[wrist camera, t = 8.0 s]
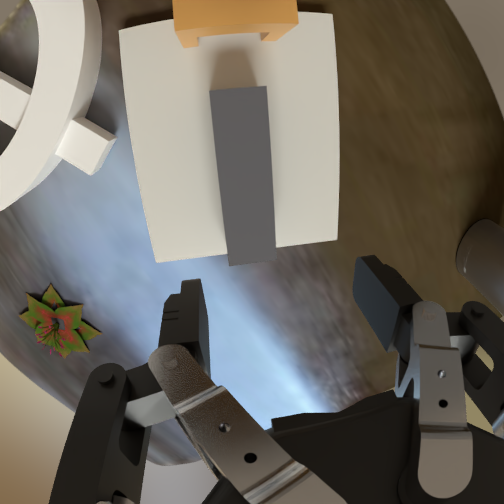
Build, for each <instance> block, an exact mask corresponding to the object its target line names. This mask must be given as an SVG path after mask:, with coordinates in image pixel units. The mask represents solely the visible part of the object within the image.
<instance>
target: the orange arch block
mask: <svg viewBox="0 0 504 504" xmlns="http://www.w3.org/2000/svg"><path fill="white" fill-rule="evenodd" d="M172 1H173V16H174V30H175V33H176V35H177V37H178V39H179V40H180V42H181V44H182V46H183V48H190V47H197V46H199V44H198V37H204V36H214V35H225V34H239V33H260V34H261V41H277V40H278V39H279V38H280V37H282V36H283V35H284V34H286V33H287V32H288V31H290V30H291V29H292V28H294V27H295V26H296V25H298V24H299V21H298V11H297V1H296V0H172Z"/></svg>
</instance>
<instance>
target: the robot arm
mask: <svg viewBox="0 0 504 504" xmlns="http://www.w3.org/2000/svg"><path fill="white" fill-rule="evenodd" d="M456 265H457V269H458V271H459V272H460V273H461V274H462V275H463V276H464V277H465V278H466V279H467V280H468V281H469V282H470V283H471V284H472V285H473V286H474V287H475V288H476V289H477V290H478V291H479V292H480V293H481V294H482V295H483V296H484V297H485V298H486V299H487V300H488V301H489V302H490V303H491V304H492V305H493V306H494V307H495V308H496V309H497V310H498V311H499V312H500V313H501V314H502V315H503V316H504V229H503V228H502V227H500V226H499V225H497V224H496V223H494V222H493V221H491V220H489V219H482V220H480V221H478V222H477V223H475V224H474V225H473V226H472V227H471V228H470V229H469V230H468V231H467V233H466V234H465V236H464V237H463V239H462V241H461V243H460V245H459V248H458V252H457V257H456ZM353 296H354V299H355V301H356V303H357V305H358V306H359V308H360V309H361V311H362V313H363V314H364V316H365V317H366V319H367V321H368V322H369V324H370V325H371V327H372V329H373V330H374V332H375V334H376V335H377V337H378V339H379V340H380V342H381V344H382V345H383V347H384V349H385V350H386V352H387V353H388V352H392V351H395V350H397V351H398V352H399V355H398V358H397V367H396V382H395V392H394V390H389V391H386V392H383V393H380V394H377V395H373V396H370V397H366V398H364V399H363V400H361V401H359V402H357V403H355V404H354V405H352V406H350V407H348V408H346V409H344V410H342V411H340V412H336V413H301V414H296V415H290V416H285V417H279V418H273V419H271V422H272V428H270V429H267V430H264V429H263V428H262V427H261V426H260V425H259V424H258V423H257V422H256V421H255V420H254V419H253V418H252V417H251V416H250V415H249V413H248V412H247V411H246V410H245V409H244V408H243V407H242V406H241V405H240V404H239V403H238V401H237V400H236V399H235V398H234V397H233V396H232V395H231V394H230V392H229V391H228V390H227V389H226V388H225V387H223V386H219V387H217V386H216V385H215V384H214V382H213V381H212V380H211V373H210V352H209V325H208V315H207V309H206V304H205V299H204V294H203V289H202V284H201V280H200V279H192V280H184V281H182V284H181V293H180V294H171V295H170V296H169V298H168V299H167V300H166V302H165V303H164V309H163V316H162V322H161V329H160V337H159V344H158V348H157V349H156V350H155V351H154V352H152V354H151V355H150V357H149V360H148V362H147V363H146V364H144V365H142V366H139V367H136V368H133V369H130V370H127V371H125V370H124V368H123V367H122V366H120V365H118V364H115V363H107V364H103V365H101V366H99V367H97V368H96V369H94V370H93V371H92V373H91V374H90V376H89V378H88V380H87V383H86V386H85V388H84V391H83V394H82V396H81V399H80V402H79V405H78V407H77V410H76V413H75V416H74V419H73V422H72V425H71V428H70V431H69V434H68V437H67V440H66V443H65V446H64V450H63V453H62V456H61V459H60V463H59V466H58V470H57V474H56V477H55V481H54V484H53V489H52V492H51V496H50V500H49V504H140V498H141V490H142V483H143V476H144V470H145V463H146V457H147V451H148V445H149V439H150V433H151V427H152V425H153V424H156V423H159V422H162V421H165V420H168V419H171V418H175V420H176V421H177V423H178V424H179V426H180V427H181V429H182V430H183V432H184V433H185V435H186V436H187V438H188V439H189V441H190V442H191V443H192V445H193V446H194V448H195V449H196V451H197V452H198V454H199V455H200V457H201V458H202V460H203V461H204V463H205V464H206V465H207V467H208V468H209V469H210V471H211V472H212V473H213V475H214V476H215V477H216V479H217V480H218V482H217V484H216V485H215V486H214V488H213V489H212V490H211V492H210V493H209V494H208V496H207V497H206V499H205V500H204V501H203V502H202V504H504V322H503V321H502V320H501V319H500V318H499V317H498V316H496V315H495V314H494V313H493V312H492V311H491V310H490V309H489V308H488V307H487V306H485V305H484V304H482V303H479V302H476V301H469V302H466V303H465V304H464V305H463V307H462V310H461V312H445V310H444V309H443V308H442V307H441V306H440V305H438V304H437V303H434V302H431V301H423V300H422V299H421V298H420V297H419V295H418V294H417V293H416V292H415V291H414V290H413V288H412V287H411V286H410V285H409V284H407V282H406V281H405V279H404V278H402V276H401V275H400V274H399V273H398V272H397V271H396V270H395V269H394V268H392V267H390V266H388V265H387V264H385V265H383V264H382V262H381V261H380V260H379V259H378V258H377V257H376V256H375V255H369V256H362V257H358V258H357V259H356V263H355V272H354V281H353ZM479 345H480V346H481V347H482V348H483V349H484V350H485V351H486V352H487V354H488V355H489V356H490V357H491V358H492V360H493V362H494V368H493V371H492V372H491V370H490V369H489V368H488V367H487V366H486V365H485V364H484V362H483V361H482V360H481V359H480V358H479V357H478V356H477V355H476V354H475V353H476V351H477V349H478V347H479ZM464 390H465V391H464ZM465 392H466V393H467V394H468V395H469V397H470V398H471V399H472V400H473V402H474V403H475V404H476V406H477V407H478V408H479V410H480V411H481V412H482V414H483V415H484V416H485V418H486V419H487V420H488V422H489V423H490V424H491V426H492V427H493V433H494V434H491V433H489V432H487V431H485V430H483V429H480V428H478V427H476V426H474V425H472V424H470V423H468V422H467V419H466V404H465Z"/></svg>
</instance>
